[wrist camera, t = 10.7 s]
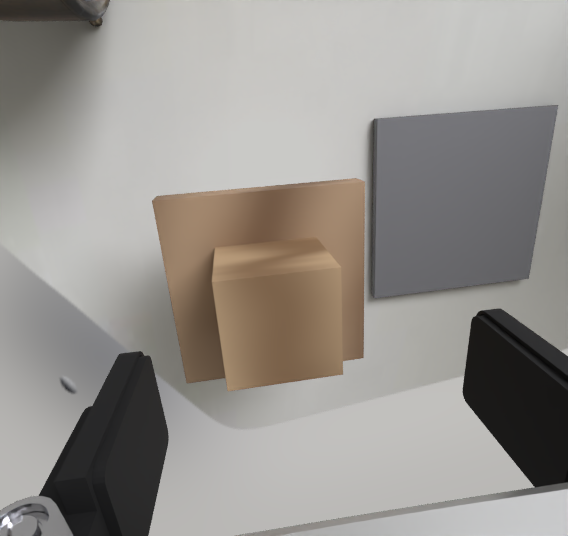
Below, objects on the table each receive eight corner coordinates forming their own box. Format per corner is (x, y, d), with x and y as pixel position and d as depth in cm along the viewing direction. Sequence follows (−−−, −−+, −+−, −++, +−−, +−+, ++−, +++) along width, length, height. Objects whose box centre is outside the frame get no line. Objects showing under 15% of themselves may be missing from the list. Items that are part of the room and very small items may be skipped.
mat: (550, 105, 25) (558, 104, 24) (522, 275, 29) (528, 278, 29) (374, 118, 24) (377, 118, 23) (371, 294, 28) (374, 298, 27)
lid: (356, 178, 18) (405, 197, 13) (355, 345, 21) (395, 411, 16) (157, 196, 17) (129, 223, 12) (188, 369, 20) (177, 446, 15)
